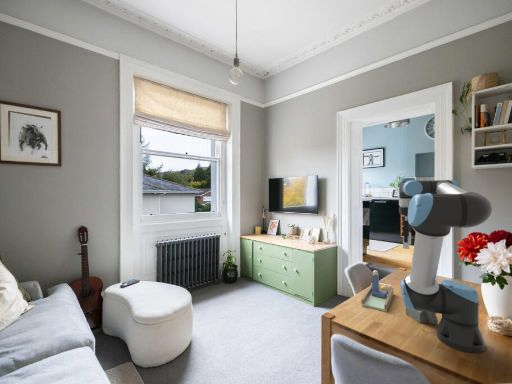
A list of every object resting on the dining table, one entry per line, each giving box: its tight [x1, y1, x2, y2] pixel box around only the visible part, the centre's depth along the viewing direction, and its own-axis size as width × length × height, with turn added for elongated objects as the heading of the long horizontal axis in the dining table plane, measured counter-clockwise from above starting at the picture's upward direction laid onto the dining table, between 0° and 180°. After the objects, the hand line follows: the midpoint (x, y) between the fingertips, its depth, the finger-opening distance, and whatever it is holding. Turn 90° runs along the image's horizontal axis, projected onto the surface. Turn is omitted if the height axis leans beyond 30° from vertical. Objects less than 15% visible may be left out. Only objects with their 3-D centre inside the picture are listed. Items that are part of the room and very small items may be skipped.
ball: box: [380, 285, 388, 291], centre depth 149 cm, size 4×4×4 cm
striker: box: [371, 270, 387, 298], centre depth 144 cm, size 6×7×14 cm
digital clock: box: [405, 307, 439, 325], centre depth 121 cm, size 16×9×11 cm, turn 178°
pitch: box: [360, 282, 394, 313], centre depth 141 cm, size 27×12×6 cm, turn 145°
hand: (407, 246), depth 133 cm, fingers open, 13 cm apart
